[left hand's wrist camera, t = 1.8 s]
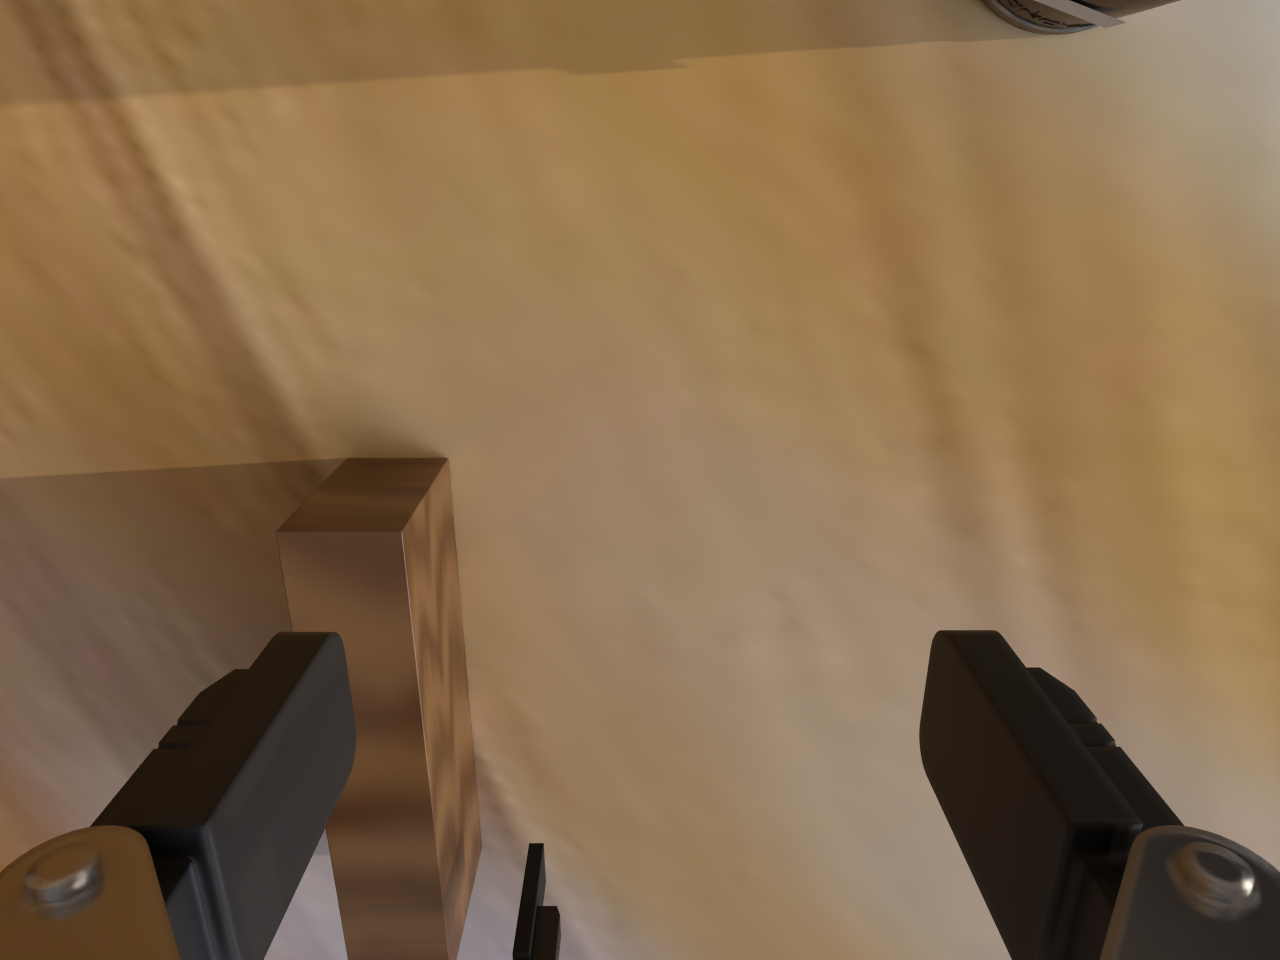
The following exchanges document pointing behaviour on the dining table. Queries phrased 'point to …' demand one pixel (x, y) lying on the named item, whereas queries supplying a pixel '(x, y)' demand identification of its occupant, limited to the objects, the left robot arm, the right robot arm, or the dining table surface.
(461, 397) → the dining table surface
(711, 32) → the dining table surface
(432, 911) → the bar
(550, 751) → the dining table surface
